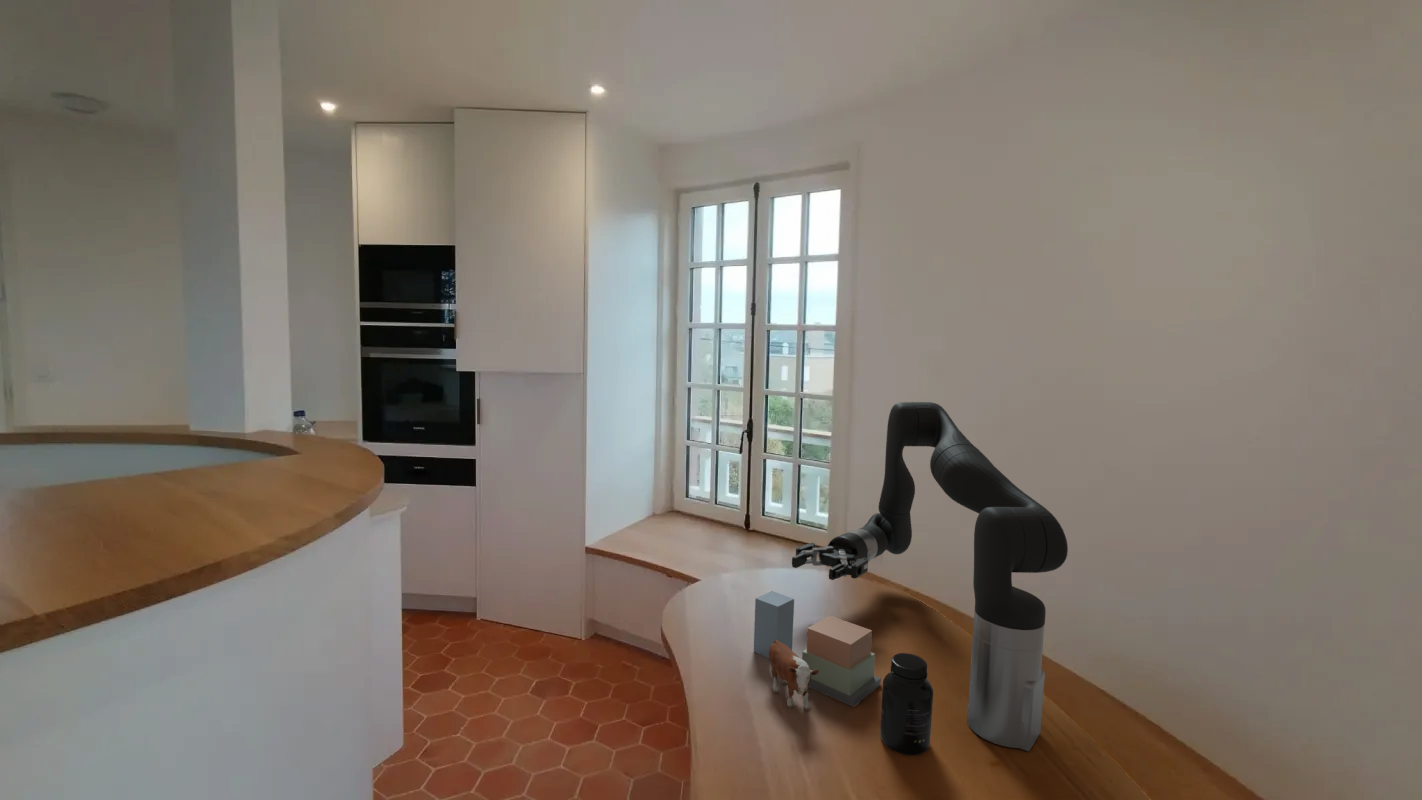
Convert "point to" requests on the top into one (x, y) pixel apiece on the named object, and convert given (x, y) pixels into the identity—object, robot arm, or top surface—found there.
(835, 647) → the brick tower
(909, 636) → the top surface
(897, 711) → the supplement bottle
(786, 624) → the column brick
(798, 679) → the bull figurine
